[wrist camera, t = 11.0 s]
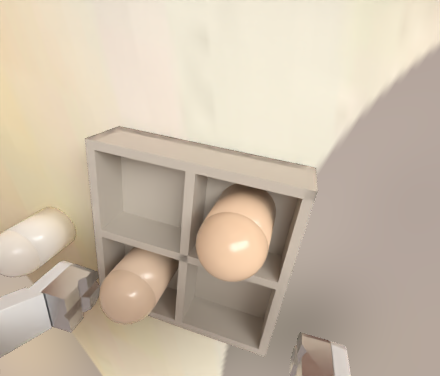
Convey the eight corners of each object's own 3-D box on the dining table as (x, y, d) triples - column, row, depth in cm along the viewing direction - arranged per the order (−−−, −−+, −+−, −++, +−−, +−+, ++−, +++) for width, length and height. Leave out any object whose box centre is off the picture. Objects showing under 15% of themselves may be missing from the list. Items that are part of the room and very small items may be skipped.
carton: (125, 271, 26) (101, 299, 23) (119, 126, 20) (84, 138, 17) (270, 318, 23) (265, 356, 20) (316, 167, 17) (317, 191, 14)
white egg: (43, 237, 28) (-19, 279, 22) (36, 202, 26) (-33, 239, 21) (78, 248, 27) (22, 294, 22) (73, 213, 25) (11, 254, 20)
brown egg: (215, 226, 20) (182, 284, 15) (221, 176, 18) (187, 223, 13) (269, 241, 19) (254, 308, 14) (282, 190, 18) (270, 246, 12)
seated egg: (135, 268, 24) (88, 325, 19) (134, 231, 23) (82, 283, 17) (177, 282, 24) (140, 345, 18) (180, 244, 22) (140, 303, 17)
